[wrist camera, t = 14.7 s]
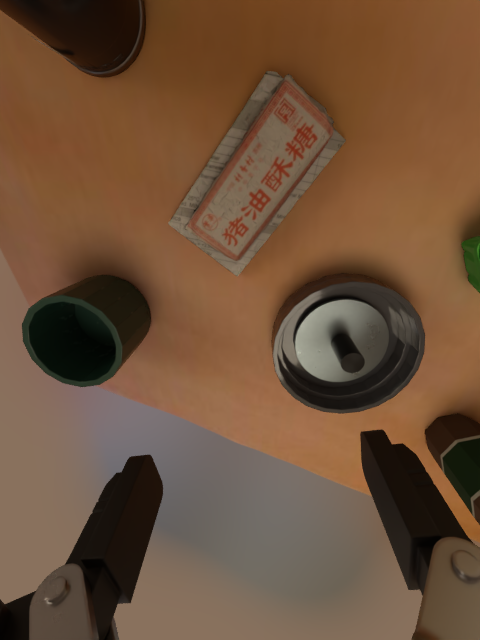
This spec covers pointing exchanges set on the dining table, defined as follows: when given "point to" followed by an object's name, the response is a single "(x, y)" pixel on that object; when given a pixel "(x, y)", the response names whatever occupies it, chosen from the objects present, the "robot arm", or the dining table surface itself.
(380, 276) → the dining table surface
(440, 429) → the beer bottle
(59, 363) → the pot
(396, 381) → the pan
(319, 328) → the lid
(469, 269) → the fruit basket
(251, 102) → the packaged product
